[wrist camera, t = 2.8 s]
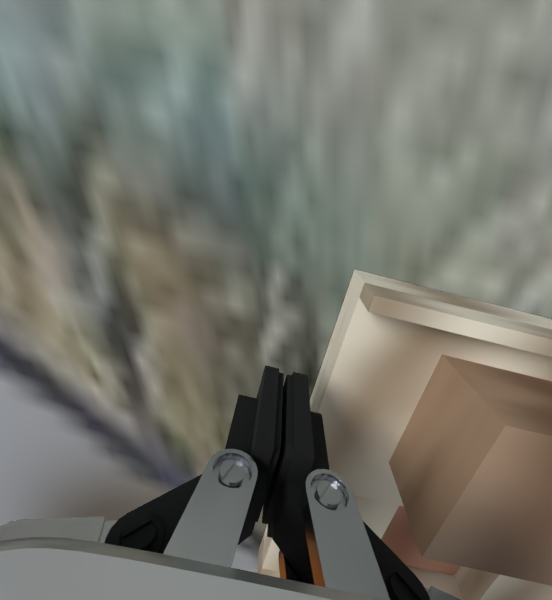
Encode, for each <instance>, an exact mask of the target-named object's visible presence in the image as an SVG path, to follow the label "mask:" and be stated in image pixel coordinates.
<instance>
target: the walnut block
mask: <svg viewBox="0 0 552 600" xmlns="http://www.w3.org/2000/svg"><path fill="white" fill-rule="evenodd" d="M389 465H390V468H391V471H392V473H393V476H394V479H395V482H396V485H397V488H398V491H399V493H400V496H401V499H402V502H403V505H404V508H405V511H406V513H407V516H408V519H409V522H410V525H411V528H412V531H413V534H414V536H415V539H416V542H417V545H418V548H419V551H420V554H421V556H422V558H427V559H432V560H436V561H441V562H445V563H450V564H454V565H459V566H463V567H468V568H472V569H477V570H481V571H486V572H490V573H495V574H500V575H504V576H509V577H513V578H518V579H522V580H527V581H531V582H536V583H540V584H545V585H549V586H552V381H549V380H544V379H540V378H536V377H532V376H528V375H524V374H520V373H516V372H512V371H508V370H504V369H499V368H495V367H491V366H487V365H483V364H479V363H475V362H471V361H467V360H463V359H459V358H455V357H450V356H446V355H441V357H440V359H439V361H438V363H437V365H436V367H435V369H434V371H433V374H432V376H431V378H430V380H429V382H428V384H427V386H426V388H425V390H424V392H423V394H422V396H421V398H420V400H419V402H418V404H417V406H416V408H415V410H414V412H413V414H412V416H411V418H410V420H409V422H408V424H407V426H406V428H405V430H404V432H403V434H402V436H401V438H400V440H399V442H398V444H397V447H396V449H395V451H394V453H393V455H392V457H391V459H390V461H389Z"/></svg>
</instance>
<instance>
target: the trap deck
mask: <svg viewBox="0 0 552 600" xmlns="http://www.w3.org/2000/svg"><path fill="white" fill-rule="evenodd" d="M441 355H446V356H450V357H455V358H459V359H463V360H467V361H471V362H475V363H479V364H483V365H487V366H491V367H495V368H499V369H504V370H508V371H512V372H516V373H520V374H524V375H528V376H532V377H536V378H540V379H544V380H549V381H552V319H549V318H545V317H541V316H537V315H533V314H529V313H525V312H521V311H517V310H513V309H509V308H505V307H501V306H497V305H493V304H489V303H485V302H481V301H478V300H474V299H470V298H466V297H462V296H458V295H454V294H450V293H446V292H442V291H438V290H434V289H430V288H426V287H422V286H418V285H414V284H410V283H406V282H402V281H398V280H394V279H390V278H386V277H382V276H378V275H374V274H370V273H366V272H362V271H358V270H354V273H353V276H352V278H351V281H350V284H349V287H348V290H347V293H346V296H345V299H344V302H343V305H342V308H341V311H340V314H339V316H338V319H337V322H336V325H335V328H334V331H333V334H332V337H331V340H330V343H329V346H328V349H327V352H326V354H325V357H324V360H323V363H322V366H321V369H320V372H319V375H318V378H317V381H316V384H315V387H314V390H313V392H312V395H311V398H310V411H312V412H316V413H321V415H322V418H323V425H324V433H325V440H326V447H327V455H328V462H329V469H330V470H331V471H333V472H335V473H337V474H338V475H340V476H341V477H342V478H343V479H344V480H345V481H346V482H347V483H348V484H349V486H350V488H351V490H352V492H353V494H354V497H355V500H356V503H357V506H358V509H359V511H360V514H361V517H362V520H363V521H364V522H365V523H366V524H367V525H368V526H369V527H370V528H371V529H372V531H373V532H374V533H375V534H376V535H377V536H378V537H379V538H380V539H381V540H382V541H383V542H384V543H385V544H386V545H387V546H388V547H389V548H390V549H391V550H392V551H393V552H394V553H395V554H396V555H397V556H398V557H399V558H400V560H401V561H402V562H403V563H404V564H405V565H406V566H407V567H408V568H409V569H410V570H411V571H412V572H413V573H414V574H415V575H416V576H417V578H418V579H419V580H420V581H421V583H422V584H423V586H424V587H425V588H427V589H429V588H430V586H433V587H435V588H437V589H439V590H442V591H444V592H446V593H448V594H450V595H452V596H454V597H456V598H458V599H461V600H552V586H549V585H545V584H540V583H536V582H531V581H527V580H522V579H518V578H513V577H509V576H504V575H500V574H495V573H490V572H486V571H481V570H477V569H472V568H468V567H463V566H459V565H454V564H450V563H445V562H441V561H436V560H432V559H427V558H422V556H421V554H420V551H419V548H418V545H417V542H416V539H415V536H414V534H413V531H412V528H411V525H410V522H409V519H408V516H407V513H406V511H405V508H404V505H403V502H402V499H401V496H400V493H399V491H398V488H397V485H396V482H395V479H394V476H393V473H392V471H391V468H390V465H389V461H390V459H391V457H392V455H393V453H394V451H395V449H396V447H397V444H398V442H399V440H400V438H401V436H402V434H403V432H404V430H405V428H406V426H407V424H408V422H409V420H410V418H411V416H412V414H413V412H414V410H415V408H416V406H417V404H418V402H419V400H420V398H421V396H422V394H423V392H424V390H425V388H426V386H427V384H428V382H429V380H430V378H431V376H432V374H433V371H434V369H435V367H436V365H437V363H438V361H439V359H440V357H441ZM267 529H268V524H267V527H266V530H265V533H264V536H263V539H262V542H261V544H260V547H259V557H258V568H257V573H259V574H264V575H269V576H273V577H278V578H280V572H279V561H278V559H279V551H280V549H279V548H278V546H277V545H276V543H275V542H274V541H273V539H272V538H271V537H267Z"/></svg>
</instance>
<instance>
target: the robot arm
mask: <svg viewBox="0 0 552 600" xmlns="http://www.w3.org/2000/svg"><path fill="white" fill-rule="evenodd" d="M283 377H284V374H283V373H279V369H278V368H274V367H270V366H265V369H264V372H263V376H262V380H261V384H260V387H259V391H258V395H257V399H256V398H251V397H247V396H243V395H239V396H238V400H237V404H236V408H235V412H234V416H233V420H232V424H231V428H230V432H229V436H228V440H227V444H226V448H225V449H224V450H221V451H219V452H217V453H216V454H214V455H213V456H212V458H211V459H210V460H209V462H208V464H207V466H206V468H205V470H204V472H203V474H202V475H200V476H198V477H196V478H194V479H192V480H190V481H188V482H186V483H184V484H183V485H181V486H179V487H177V488H175V489H173V490H171V491H169V492H167V493H165V494H163V495H162V496H160V497H158V498H156V499H154V500H152V501H150V502H148V503H146V504H144V505H143V506H140V507H139V508H137V509H135V510H133V511H131V512H129V513H127V514H126V515H124V516H123V517H121V518H120V519H119V520H118V521H105V517H76V518H46V519H22V520H17V521H11V522H9V523H7V524H4V525H2V526H0V600H461V599H458V598H456V597H454V596H452V595H450V594H448V593H446V592H444V591H442V590H439V589H437V588H435V587H433V586H430V588H429V589H427V588H425V587H424V586H423V584H422V583H421V581H420V580H419V579H418V578H417V576H416V575H415V574H414V573H413V572H412V571H411V570H410V569H409V568H408V567H407V566H406V565H405V564H404V563H403V562H402V561H401V560H400V558H399V557H398V556H397V555H396V554H395V553H394V552H393V551H392V550H391V549H390V548H389V547H388V546H387V545H386V544H385V543H384V542H383V541H382V540H381V539H380V538H379V537H378V536H377V535H376V534H375V533H374V532H373V531H372V529H371V528H370V527H369V526H368V525H367V524H366V523H365V522H364V521H363V520H362V517H361V514H360V511H359V509H358V506H357V503H356V500H355V497H354V494H353V492H352V490H351V488H350V486H349V484H348V483H347V482H346V481H345V480H344V479H343V478H342V477H341V476H340V475H338V474H337V473H335V472H333V471H331V470H330V469H329V462H328V455H327V447H326V440H325V433H324V425H323V418H322V415H321V413H316V412H312V411H310V399H309V388H308V377H307V375H304V374H300V373H295V372H293V374H292V375H287V377H286V380H285V383H284V387H283ZM263 504H264V505H263ZM262 507H263V517H262V523H265V524H268V529H267V537H271V538H272V539H273V541H274V542H275V543H276V545H277V546H278V548H279V549H280V551H279V559H278V561H279V572H280V578H278V577H273V576H269V575H264V574H259V573H254V572H249V571H244V570H240V569H235V568H231V565H232V562H233V559H234V555H235V552H236V548H237V545H239V544H240V543H241V542H242V541H244V540H245V539H246V538H248V537H249V536H250V535H251V534H252V531H253V528H254V525H255V522H258V519H259V516H260V513H261V510H262Z"/></svg>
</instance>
